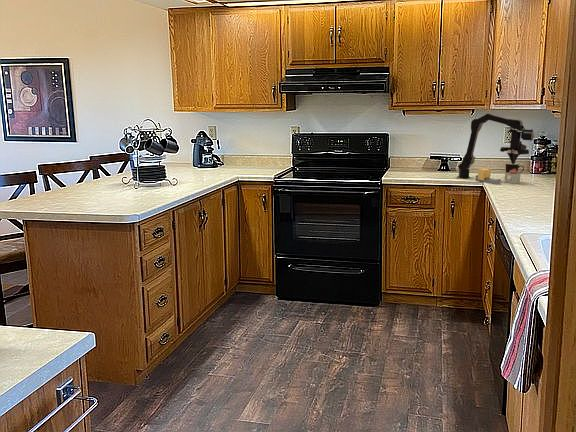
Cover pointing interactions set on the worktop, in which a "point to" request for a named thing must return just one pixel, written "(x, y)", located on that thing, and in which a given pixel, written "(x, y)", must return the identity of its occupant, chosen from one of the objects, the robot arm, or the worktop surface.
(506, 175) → the grey block
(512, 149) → the robot arm
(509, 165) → the coffee mug
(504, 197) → the worktop surface
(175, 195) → the worktop surface
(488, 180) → the rail
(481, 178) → the carriage
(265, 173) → the worktop surface
